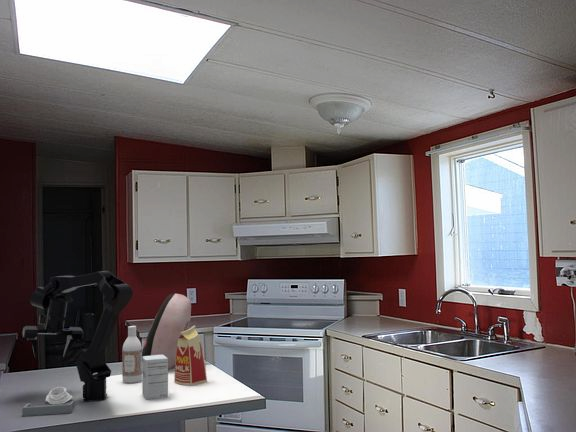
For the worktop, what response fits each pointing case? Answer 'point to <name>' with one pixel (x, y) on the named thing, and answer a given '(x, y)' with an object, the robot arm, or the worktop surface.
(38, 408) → the tray
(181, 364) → the milk carton
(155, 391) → the supplement box
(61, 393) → the whipped cream
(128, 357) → the bath foam
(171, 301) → the beige tall rounded piece
